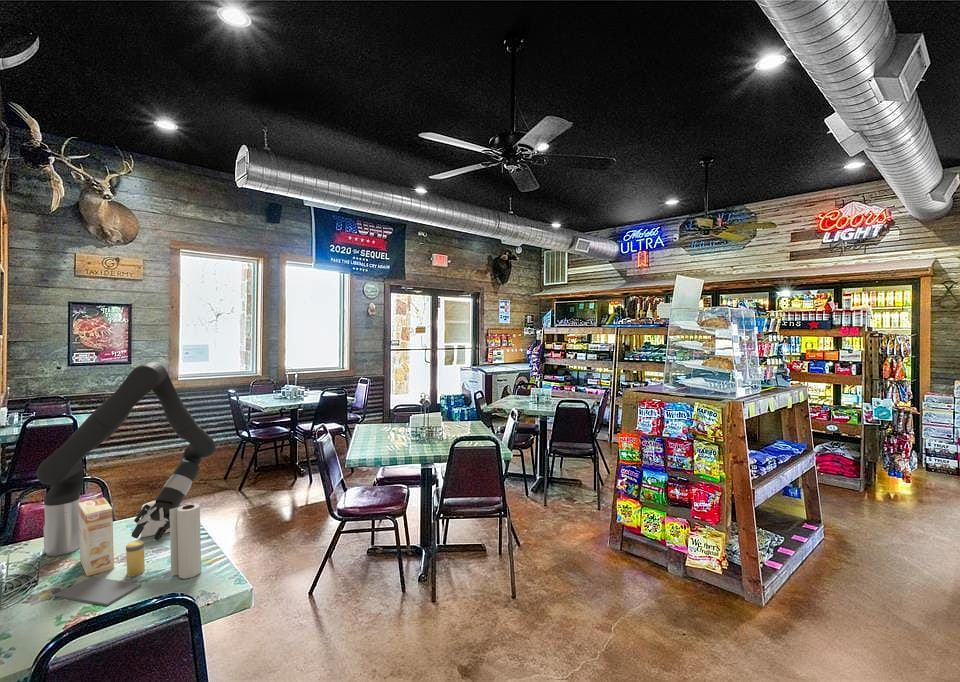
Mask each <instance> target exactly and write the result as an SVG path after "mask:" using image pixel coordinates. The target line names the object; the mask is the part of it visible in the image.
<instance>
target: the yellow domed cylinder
mask: <svg viewBox="0 0 960 682" xmlns="http://www.w3.org/2000/svg"><path fill="white" fill-rule="evenodd" d="M125 551H126V553H125V554H126V575H127V576H128V577H134V576H138V575H141V574H143V573H144V572H145V569H146V568H145V567H146V566H145V565H146V564H145V541H144V540H135V541H132V542H130V543H128V544H126V546H125Z"/></svg>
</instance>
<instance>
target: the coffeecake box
mask: <svg viewBox="0 0 960 682" xmlns="http://www.w3.org/2000/svg"><path fill="white" fill-rule="evenodd" d="M78 507H79V542H80V548H79V561H80V565H82V568H83V570H84V573H85V575H86V576H87V577H89V576H90V577H91V576H92V575H97V574H99V573H103V572H106V571H109V570H113V569H115V559H114V558H115V557H114V556H115V555H114V554H115V553H114V521H113V520H114V519H113V518H114V517H113V510H114V509H113V507H112V506H111V504H110V503H109V502H108V500H107V499H106V498H105V497H100V498H95V499H94V498H93V499H90V500H86V501H80V503H78Z"/></svg>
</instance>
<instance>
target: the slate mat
mask: <svg viewBox="0 0 960 682" xmlns="http://www.w3.org/2000/svg"><path fill="white" fill-rule="evenodd" d="M141 587H142V584H141V583H135V582H129V581H123V580H116V579H111V578H106V577H105V578H104V577H97V576H92V575H90V577H89V576H88V577H87V578H85V579H83V580H81V581H80V582H78V583H75V584H74V585H72V586H70V587H67V588H65V589H64V590H62V591H60V592H58V593H57V592H56V594H54V597H55V598H60V599H66V600H71V601H78V602H83V603H89V604H95V605H101V606H107V605H108V606H110V605H112V604H113V603H115V602H117V601H118V600H119V599H122V598H123V597H125V596H126V595H128V594H131V593H132V592H134V591H135V590H137V589H138V588H141ZM109 604H110V605H109ZM108 606H107V607H108Z"/></svg>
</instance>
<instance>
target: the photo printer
mask: <svg viewBox="0 0 960 682" xmlns="http://www.w3.org/2000/svg"><path fill="white" fill-rule="evenodd" d="M155 503H156V500H152V501H149V502H146V503H144V504H142V505H141V509H140V511H141V510H142V509H143V507H144V506H145V505H146V504H147V505H149V506H153V505H154V504H155ZM149 517H150V516H149ZM141 518H142V516H141ZM141 518H140V519H141ZM150 518H151V517H150ZM146 521H147V520H146ZM144 522H145V521H144ZM159 527H161V521H153V522H152V523H149V524H147V525H146V526H145V527H144V529H143V531H142V532H141V534H140V537H141V538H146V537H147V538H148V537H153V536H154V535H155V534H156V532H157V530H158V529H159ZM167 533H170V528H169V529H168V530H166V532H165V533H164V534H167Z"/></svg>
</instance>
